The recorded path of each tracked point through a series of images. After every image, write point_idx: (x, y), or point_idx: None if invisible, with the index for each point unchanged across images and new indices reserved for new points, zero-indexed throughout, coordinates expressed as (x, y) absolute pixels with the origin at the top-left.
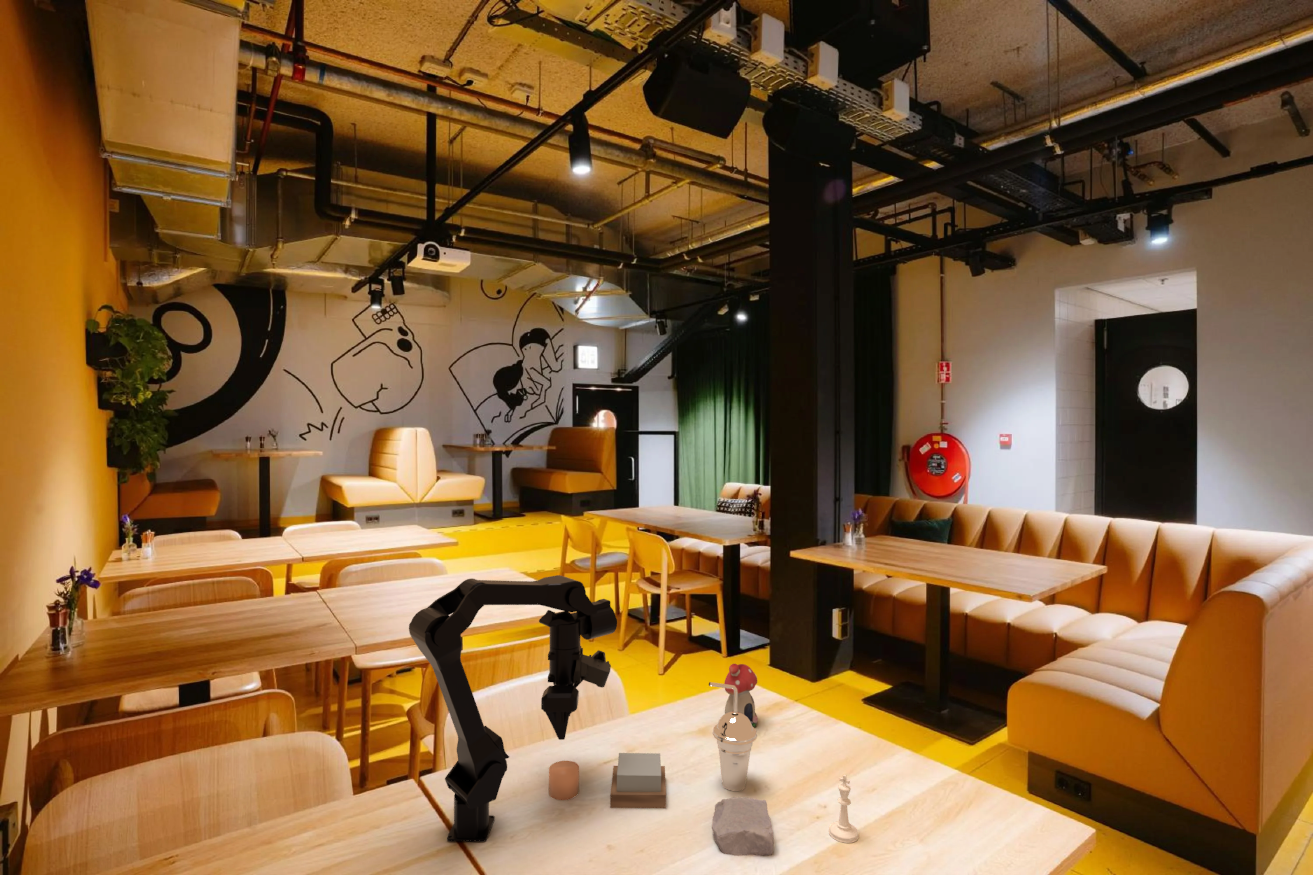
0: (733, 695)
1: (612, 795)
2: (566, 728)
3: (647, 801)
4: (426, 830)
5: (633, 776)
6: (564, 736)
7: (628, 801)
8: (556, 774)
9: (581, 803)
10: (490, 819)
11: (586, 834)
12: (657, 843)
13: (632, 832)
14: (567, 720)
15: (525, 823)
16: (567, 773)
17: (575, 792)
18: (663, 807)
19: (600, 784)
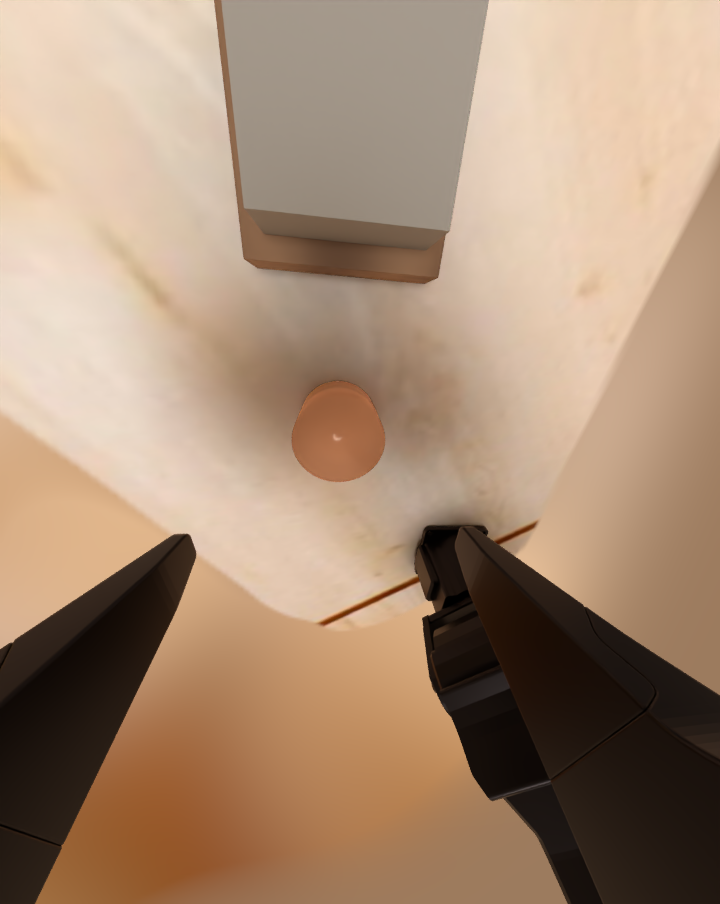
0: None
1: (438, 269)
2: (541, 575)
3: None
4: None
5: (465, 127)
6: (486, 537)
7: None
8: (373, 459)
9: (394, 370)
10: (436, 533)
11: (521, 352)
12: (643, 106)
13: (558, 208)
14: (634, 642)
15: (448, 478)
16: (370, 430)
17: (361, 390)
18: None
19: (301, 316)
